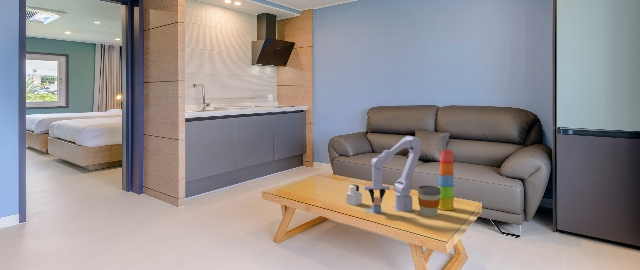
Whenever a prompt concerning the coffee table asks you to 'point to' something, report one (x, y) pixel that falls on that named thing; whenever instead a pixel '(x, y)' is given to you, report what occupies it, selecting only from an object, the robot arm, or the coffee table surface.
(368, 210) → the plate
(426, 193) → the reusable coffee cup
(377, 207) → the blue brick
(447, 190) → the stacking cups
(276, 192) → the coffee table surface
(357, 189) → the medicine bottle
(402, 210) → the robot arm
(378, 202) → the salmon orange cube
